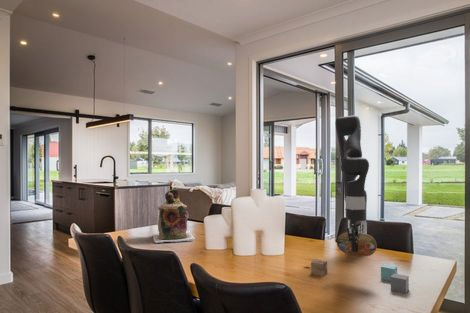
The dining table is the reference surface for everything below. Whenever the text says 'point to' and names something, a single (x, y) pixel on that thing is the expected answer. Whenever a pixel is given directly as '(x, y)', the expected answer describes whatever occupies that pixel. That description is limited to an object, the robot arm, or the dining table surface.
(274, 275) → the dining table surface
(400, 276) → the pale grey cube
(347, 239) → the tin
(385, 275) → the slate-teal cube
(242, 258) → the dining table surface
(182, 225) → the cookie jar
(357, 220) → the robot arm
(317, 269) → the brownish grey cube
